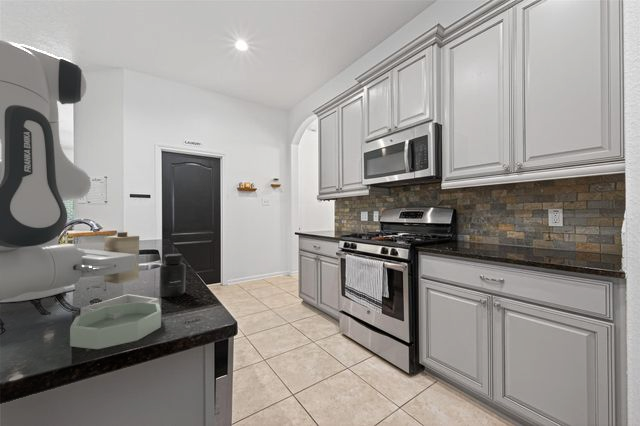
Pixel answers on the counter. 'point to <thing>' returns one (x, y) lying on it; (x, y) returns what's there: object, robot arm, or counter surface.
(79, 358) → the counter surface
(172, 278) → the supplement bottle
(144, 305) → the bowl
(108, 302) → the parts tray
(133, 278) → the birch canister
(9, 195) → the robot arm
